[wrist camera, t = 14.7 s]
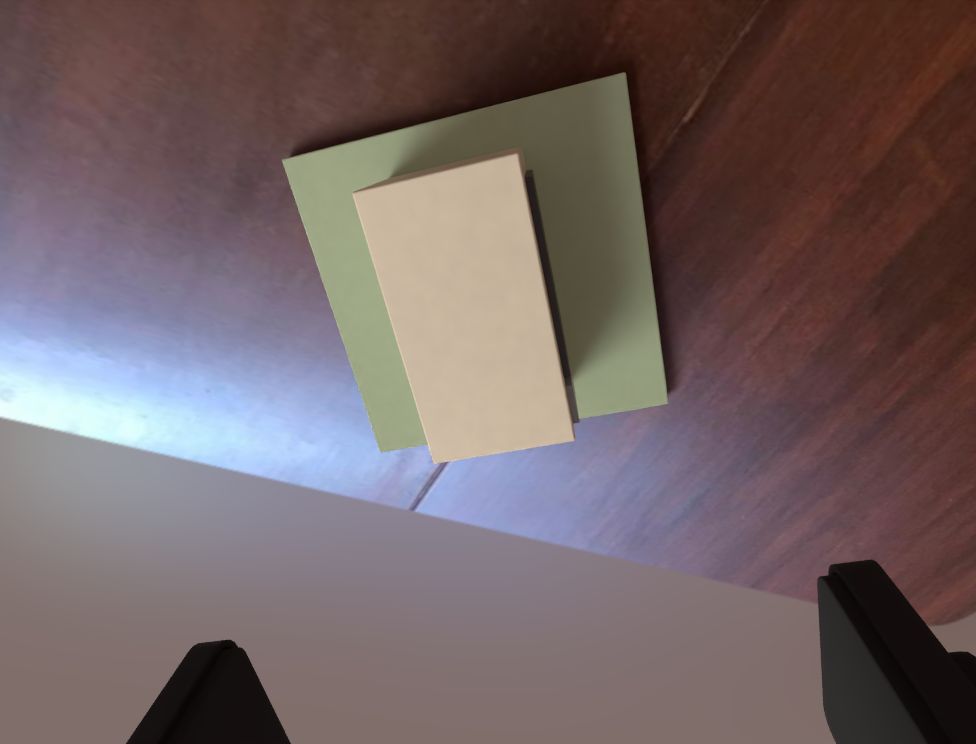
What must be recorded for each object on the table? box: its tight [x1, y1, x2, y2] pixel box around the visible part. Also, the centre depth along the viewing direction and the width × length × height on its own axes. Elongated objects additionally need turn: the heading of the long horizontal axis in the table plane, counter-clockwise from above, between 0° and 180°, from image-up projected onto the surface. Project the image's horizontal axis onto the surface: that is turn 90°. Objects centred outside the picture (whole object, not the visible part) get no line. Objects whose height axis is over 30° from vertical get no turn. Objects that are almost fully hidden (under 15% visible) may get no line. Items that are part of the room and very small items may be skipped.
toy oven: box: [353, 147, 580, 464], centre depth 27 cm, size 7×12×6 cm, turn 13°
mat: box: [282, 72, 669, 452], centre depth 30 cm, size 16×16×1 cm
